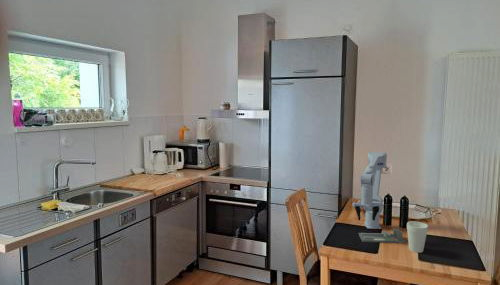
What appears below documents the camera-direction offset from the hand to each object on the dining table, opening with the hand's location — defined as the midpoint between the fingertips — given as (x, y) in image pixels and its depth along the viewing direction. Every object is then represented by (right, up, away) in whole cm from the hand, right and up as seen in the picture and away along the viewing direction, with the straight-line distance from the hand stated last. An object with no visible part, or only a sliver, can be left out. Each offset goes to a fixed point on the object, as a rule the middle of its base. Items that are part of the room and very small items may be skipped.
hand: (366, 219), depth 188 cm
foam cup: (+19, -12, -16) cm, 28 cm away
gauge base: (+7, -10, -2) cm, 12 cm away
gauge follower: (+9, -8, -4) cm, 13 cm away
